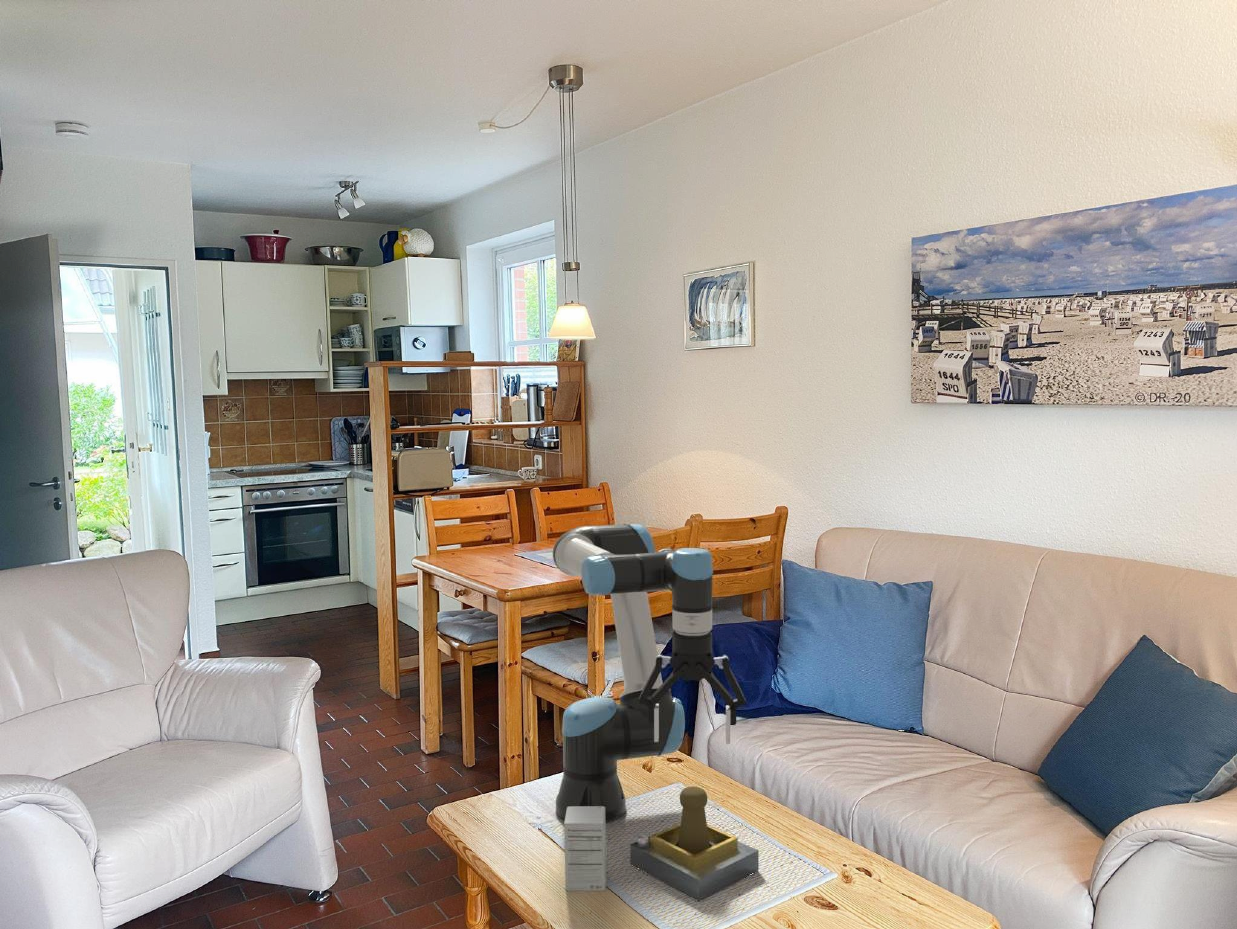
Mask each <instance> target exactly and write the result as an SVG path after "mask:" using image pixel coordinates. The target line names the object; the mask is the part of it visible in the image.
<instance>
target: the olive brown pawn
mask: <svg viewBox="0 0 1237 929" xmlns="http://www.w3.org/2000/svg"><path fill="white" fill-rule="evenodd" d="M679 803H680V805H681V807H682V809H681V817H680V818H681V819H680V823H681V825H680V833H679V841H678V847H679V848H681V849H683V850H685V851H687V852H689V853H691V854H698V853H700V852H702V851H704V850H706V849H708V848H710V844H709V837H708V829H707V824H708V822H707V817H706V816H707V815H706V810H705V807H706V806H707V804H708V795H707V792H706V791H705V789H703V788H701V787H699V786H688V787H685V788H683V789H682V790H681V791H680V793H679Z"/></svg>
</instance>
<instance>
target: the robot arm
mask: <svg viewBox="0 0 1237 929" xmlns="http://www.w3.org/2000/svg"><path fill="white" fill-rule="evenodd" d="M552 559H553V562H554V564H555V567H556V568H557V569H558V570H559V571H561V573H563V574H565V575H567V576H571V577H579V578H581V581H582V587H583V589H584V592H585V593H586V594H588V595H589V596H590V595H591V596H595V595H597V596H598V595H599V596H607V595H610V600H611V605H612V612H613V619H614V626H615V633H616V639H617V645H618V647H617V648H618V654H619V657H620V659H619V660H620V664H621V665H620V666H621V673H622V678H623V679H622V680H623V684H624V690H623V691H622V693H621V694H620V696H619V704H617V702H616V701H615V700H614V699H613V698H612V697H606V696H603V697H600V696H593V697H592V696H591V697H587V698H584V699H580V700H577V701H575V702H573V703H571V704H570V705H569V706H567V708H566V709H565V710H564V712H563V715H562V727H561V733H562V759H563V760H562V764H563V765H562V767H563V770H562V772H563V774H562V779H561V783H560V785H559V786H560V787H559V790H558V794H557V795H556V798H555V813H556V815H557V816H558V817H560V818H561V819H563V820H564V821H565V816H566V810H567V807H571V806H602V807H605V821H606V823H608V822H612V821H615V820H616V819H619V818H620V817H622V816H623V815H624V814H625V812H626V809H627V808H626V807H627V806H626V804H627V803H626V795H625V793H624V789H623V787H622V784H621V781H620V778H619V775H618V761H623V760H632V759H638V758H639V759H640V758H647V757H654V756H656V757H660V756H662V755H669V754H674V753H676V752H677V751H678V750H679V749H680V748H681V746H682V743H683V741H684V734H685V729H686V728H685V726H686V723H685V722H686V721H685V711H684V706H683V705H682V701H681V700H680V699H679V698H676V697H673V696H672V691H671V688H672V687H673V685H674V684H676V683H677V682H678V681H679V680H680V679H682V680H683V681H697V682H698V681H700V682H701V680H706V682H707V683H708V684H709V685H710V686H711V687H712V688H713V690H714V691H715V692H716V693H717V694H718V695H719V696H720V698H722V700H723V701H724V702H725V703H726V704H727V705H725V744H726V745H727V744H728V745H731V726H736V724H737V710H738V709H739V708H740V707H745V706H746V705H747V701H746V697H745V695H744V692H743V691H742V688H741V687H740V685H739V683H738V680H737V679H736V677H735V674H734V673H733V671H732V669H731V667H730V662H729V660H730V659H729V656H728V655H727V654H723V655H722V656H718V657H714V656H713V633H712V632H711V631H712V630H713V575H714V567H713V556H712V554H711V551H710V550H707V549H706V548H705V549H703V548H699V547H684V548H677V549H673V548H672V549H671V548H663V549H660V550H658V551H656V548H655V543H654V539H653V537H652V535H651V532H650V531H649V530H648V529H647V528H646V527H645V526H644V525H643V524H639V523H637V524H635V523H623V524H603V525H600V524H599V525H584V526H583V525H582V526H578V527H574V528H572V529H570V530H568V531H566V532H565V533H563V534H562V535H560V537H558V538H557V540H556V541H555V544H554V545H553V549H552ZM660 591H661V592H663V591H669V592H671V593H672V595H671V596H672V597H671V598H672V605H671V606H672V608H671V609H672V613H671V614H672V616H671V618H672V619H671V620H672V630H674V631H672V633H671V634H672V638H671V639H672V642H671V644H672V645H671V646H672V648H671V649H672V653H671V656H668V655H667V656H666V655H663V654H662V653H658V649H657V644H656V643H657V642H656V636H655V630H654V625H653V621H652V620H653V619H652V615H651V614H652V613H651V607H650V602H649V596H648V592H660ZM669 664H670V666H671V667H672V668H673V671H672V672H671V673H670V675H669V676H668V677H667V678H666V679H665V680H664V682H663V679H662V673H661V671H662V669H664V668H666V667H667V665H669ZM715 665H717V666H718V668H719V669H721V670H723V671H722V672H723V674H724V676H725V677H726V679H727V681H728V684H729V685H730V688H731V689H732V691H733V694H734V695H735V698H734V697H733V696H732V695H731V694H730V692H729V691H728V689H726V687H725V686H724V685H723V684H722V683H721V682H720V680H719V679H718V678H717V677H716V676H715V675H714V673H713V671H711V670H712V669H713V667H714V666H715Z"/></svg>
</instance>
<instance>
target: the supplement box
mask: <svg viewBox="0 0 1237 929" xmlns="http://www.w3.org/2000/svg"><path fill="white" fill-rule="evenodd" d="M563 823H564V825H563V826H564V830H563V831H564V873H565V875H564V877H565V882H564V883H565V890H566V891H577V892H578V891H579V892H580V891H582V892H584V891H585V892H588V891H589V892H590V891H591V892H592V891H593V892H597V891H598V892H601V891H602V892H603V891H605V890H606V886H607V885H606V883H607V834H606V833H607V832H606V831H607V829H606V826H607V825H606V824H607V822H606V821H605V807H602V806H571V807H567V810H566V816H565V820H564V822H563Z"/></svg>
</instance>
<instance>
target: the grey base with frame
mask: <svg viewBox="0 0 1237 929" xmlns="http://www.w3.org/2000/svg"><path fill="white" fill-rule="evenodd" d="M680 825H681V822H679V823H676V824H675V825H671V826H670V827H667V828H665V829H663V830H660V831H658V832H656V833H652V834H651V835H649V836H648V835H644V834H642V835H639V836H638V837H637V841H635V842H633V843H630V845H629V852H630V854H629V855H630V856H629V857H630V863H629V864H631V865H630V866H632V865H633V866H634V868H635V867H636V869H637V868H639V869H638V870H639V871H641V870H642V871H641V872H643V871H644V872H643V873H645V872H646V873H647V875H648V874H650V875H651V876H650V875H649V876H650V877H652V876H653V877H652V878H654V879H656V880H657V879H658V880H657V881H659V880H660V882H661V881H662V882H661V883H663V882H664V884H665V885H667V886H668V887H670V886H671V887H670V888H672V889H674V888H675V889H674V890H676V891H678V892H680V893H681V894H683V893H684V894H683V895H685V894H686V895H685V896H687V897H688V898H691V897H692V898H693V899H692V898H691V899H692V900H694V899H695V901H696V900H697V901H696V902H698V903H700V902H702V901H704V900H706V899H708V898H710V897H712V896H714V895H715V894H717V893H719V892H721V891H723V890H724V889H728V888H729V887H731V886H733V885H735V884H737V883H738V882H740V881H743V880H745V879H747V878H748V877H747V876H749V875H750V874H752V873H754V874H756V873H757V872H756V871H758V870H759V856H760V855H759V849H756V848H754V847H752V846H749V845H747V844H745V843H743V842H741V841H739V840H738V837H737V836H735V835H732V834H730V833H728V832H726V831H723V830H722V829H719V828H717V827H714V826H712V825H710V824H708V823H707V829H708V837H709V844H710V848H708V849H706V850H704V851H702V852H700V853H698V854H691V853H689V852H687V851H685V850H683V849H681V848H679V847H678V841H679V833H680ZM633 866H632V867H633ZM759 871H760V870H759ZM759 871H758V872H759ZM755 872H756V873H755ZM646 873H645V874H646ZM752 875H753V874H752ZM750 876H751V875H750ZM750 876H749V877H750ZM746 877H747V878H746ZM744 878H745V879H744ZM742 879H743V880H742ZM713 894H714V895H713ZM709 896H710V897H709ZM707 897H708V898H707ZM701 900H702V901H701Z"/></svg>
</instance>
